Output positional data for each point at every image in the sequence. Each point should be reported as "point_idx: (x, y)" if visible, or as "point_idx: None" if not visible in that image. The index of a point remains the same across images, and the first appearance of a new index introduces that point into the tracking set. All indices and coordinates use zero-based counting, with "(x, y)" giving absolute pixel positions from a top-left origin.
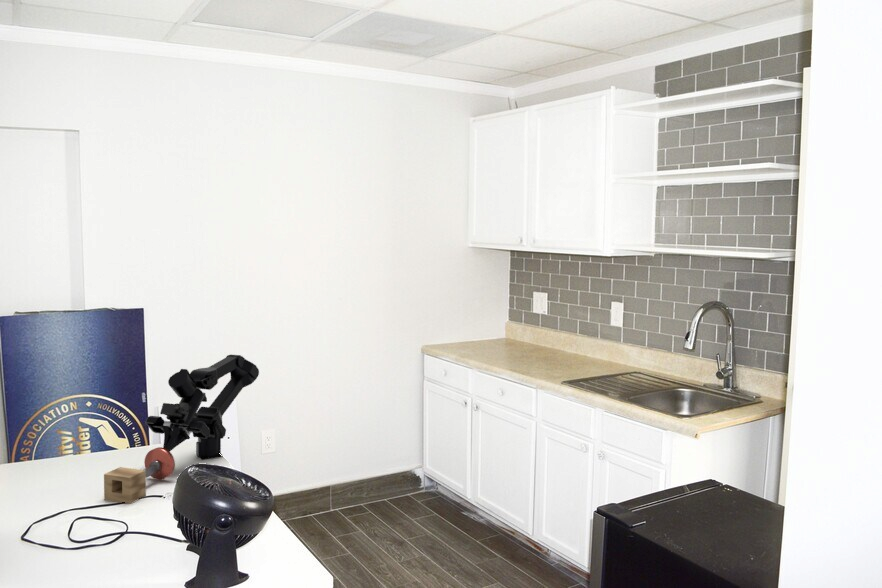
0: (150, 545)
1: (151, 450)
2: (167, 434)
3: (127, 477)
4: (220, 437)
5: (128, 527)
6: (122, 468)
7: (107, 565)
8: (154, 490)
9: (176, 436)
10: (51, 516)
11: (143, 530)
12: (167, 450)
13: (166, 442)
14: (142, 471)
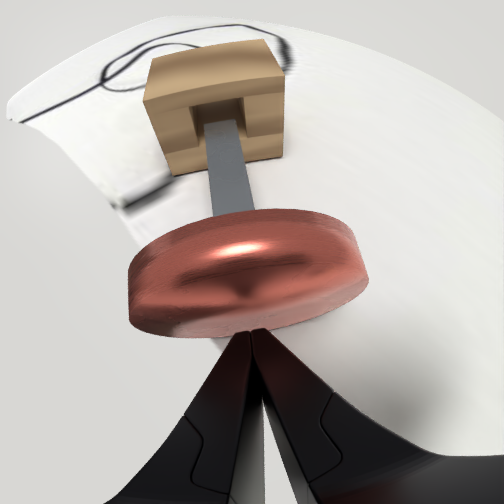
0: (52, 94)
1: (306, 212)
2: (346, 476)
3: (162, 56)
4: None
5: (106, 89)
6: (258, 71)
7: (82, 58)
8: None
9: (132, 490)
10: (283, 50)
11: (77, 100)
12: (156, 285)
13: (274, 387)
14: (147, 91)
